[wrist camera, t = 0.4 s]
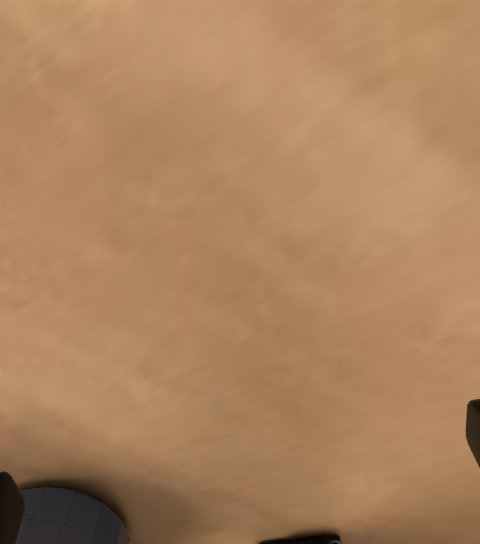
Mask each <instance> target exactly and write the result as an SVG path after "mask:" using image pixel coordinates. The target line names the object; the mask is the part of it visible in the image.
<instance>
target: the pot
mask: <svg viewBox="0 0 480 544" xmlns="http://www.w3.org/2000/svg"><path fill="white" fill-rule="evenodd" d="M20 491H21V493H22V495H23V497H24V500H25V511H24V515H23V519H22V522H21V526H20V530H19V534H18V537H17V541H16V544H129V542H130V538H129V536H128V533H127V531H126V528H125V526H124V523H123V521H122V519H121V518H119V517H118V516H117V515H116V514H115V513H114V512H113V511H112V510H111V509H110V508H109V507H107V506H106V505H105V504H103V503H102V502H100V501H99V500H97V499H96V498H94V497H92V496H90V495H87V494H85V493H82V492H79V491H76V490H72V489H67V488H59V487H40V488H32V489H24V490H20Z"/></svg>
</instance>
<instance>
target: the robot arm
mask: <svg viewBox="0 0 480 544" xmlns="http://www.w3.org/2000/svg"><path fill="white" fill-rule="evenodd" d="M466 438H467V442H468V445H469V447H470V449H471V451H472V453H473V455H474V457H475V459H476V461H477V463H478V465H479V468H480V399H476V400H471V401H470V402H469V403H468V405H467V418H466ZM24 511H25V500H24V497H23V495H22V493H21V491H20V490H19V488H18V486H17V485H16V483H15V481H14V480H13V478H12V476H11V475H10V474H9V473H8V472H4V471H3V472H0V544H16V541H17V537H18V534H19V530H20V526H21V522H22V519H23V515H24ZM262 544H341V540H340V537H339V536H337V535H330V536H322V537H313V538H305V539H296V540H288V541H279V542H271V543H262Z"/></svg>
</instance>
